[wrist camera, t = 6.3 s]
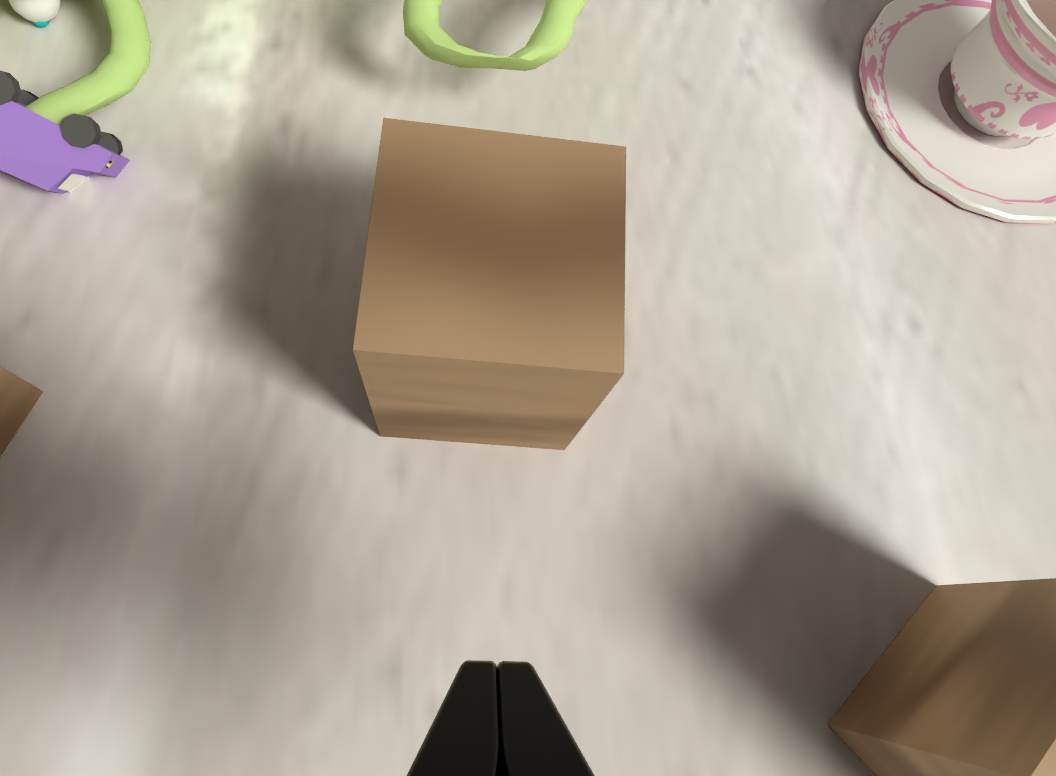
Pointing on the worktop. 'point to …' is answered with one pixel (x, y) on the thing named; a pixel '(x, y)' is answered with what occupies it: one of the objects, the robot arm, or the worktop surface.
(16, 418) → the striped block
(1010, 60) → the teacup
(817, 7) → the worktop surface
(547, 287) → the plain block
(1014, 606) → the striped block
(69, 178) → the figurine
